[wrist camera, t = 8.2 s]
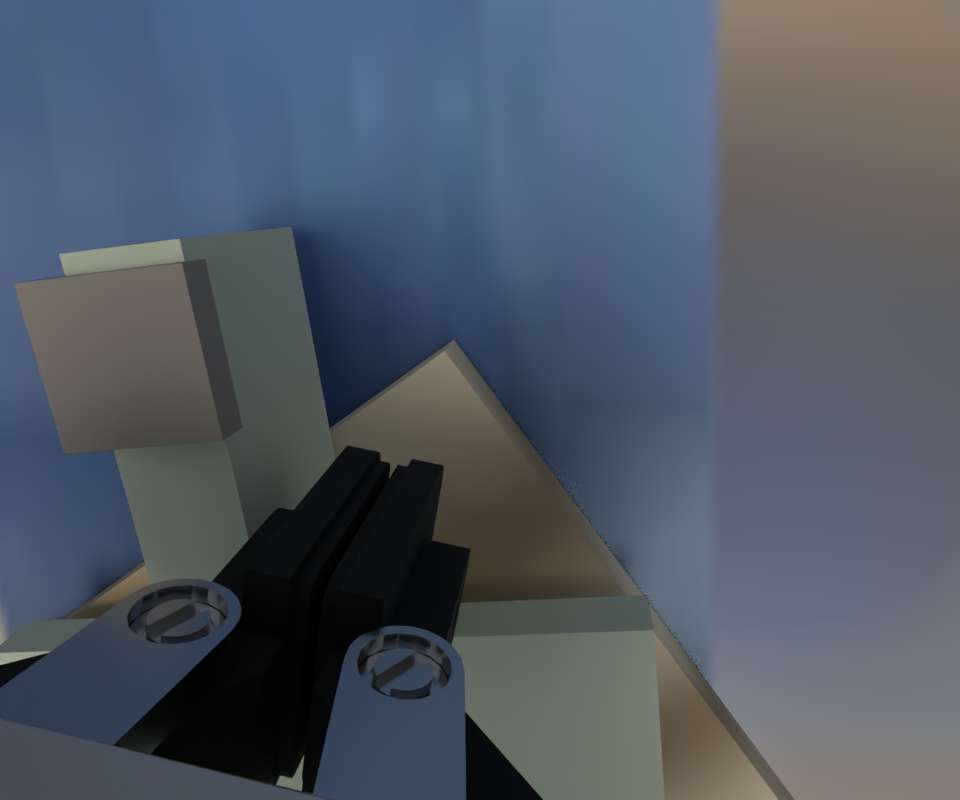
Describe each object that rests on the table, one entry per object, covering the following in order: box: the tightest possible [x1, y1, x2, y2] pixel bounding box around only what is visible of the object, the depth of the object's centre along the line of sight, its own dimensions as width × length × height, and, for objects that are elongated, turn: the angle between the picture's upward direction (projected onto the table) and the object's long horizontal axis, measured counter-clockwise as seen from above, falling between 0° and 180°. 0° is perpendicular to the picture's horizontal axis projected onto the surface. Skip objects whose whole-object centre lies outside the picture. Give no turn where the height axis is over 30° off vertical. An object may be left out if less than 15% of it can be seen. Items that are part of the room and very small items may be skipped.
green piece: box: [0, 227, 665, 800], centre depth 14 cm, size 14×22×5 cm, turn 7°
